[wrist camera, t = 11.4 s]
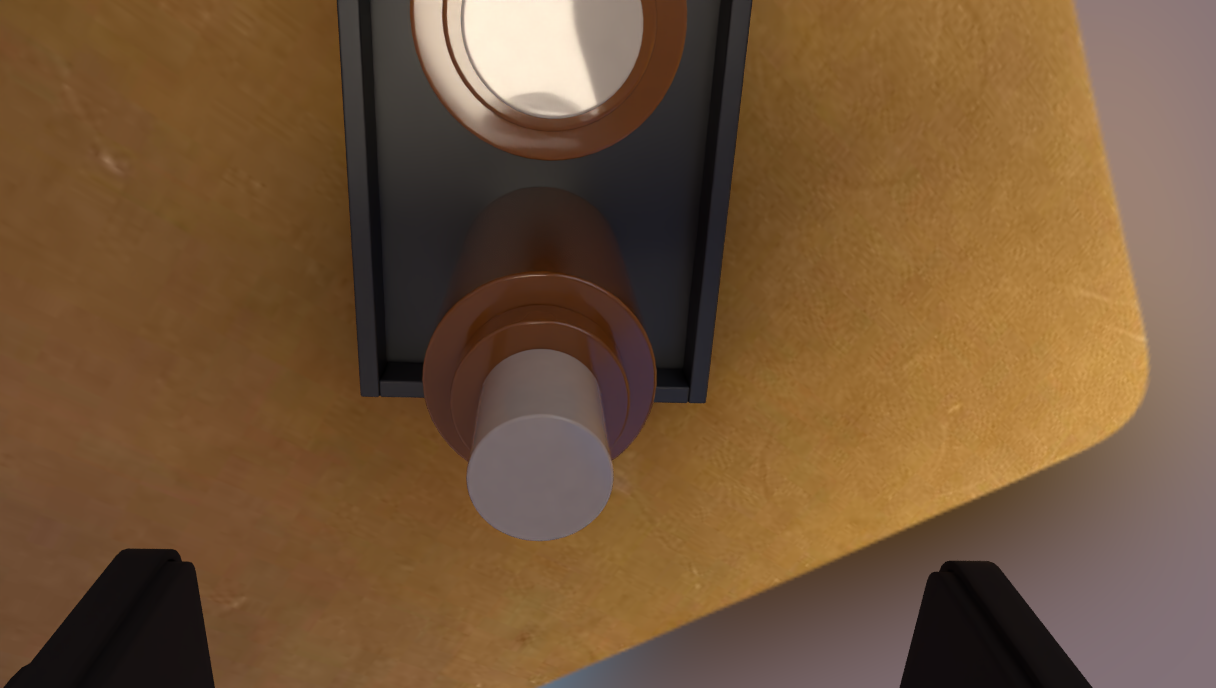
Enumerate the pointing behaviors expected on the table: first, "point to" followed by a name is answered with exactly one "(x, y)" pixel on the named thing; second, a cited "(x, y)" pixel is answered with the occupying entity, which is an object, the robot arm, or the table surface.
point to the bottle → (549, 68)
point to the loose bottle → (539, 362)
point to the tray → (479, 173)
